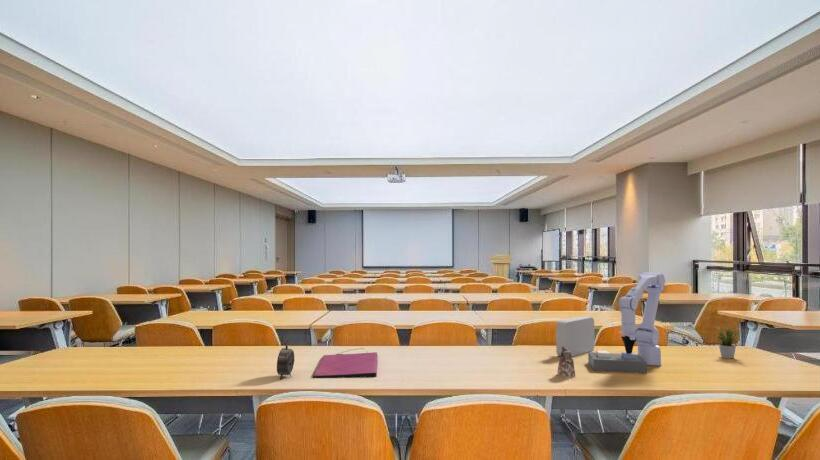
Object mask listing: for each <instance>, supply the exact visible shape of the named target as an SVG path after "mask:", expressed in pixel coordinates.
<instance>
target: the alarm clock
mask: <svg viewBox="0 0 820 460" xmlns="http://www.w3.org/2000/svg"><path fill="white" fill-rule="evenodd" d="M288 344H289V339H288V338H286V339H285V347H282V348H281V349H280V351H279V352H278V356H277V362H276V373H277V375H278V376H280V377H279V380H280V381H281V380H282V377H283V376H290V377H292V375H291V373H292V372H293V369H294V365H295V352H294V350H293V349H292V348H288Z"/></svg>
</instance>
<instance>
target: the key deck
mask: <svg viewBox="0 0 820 460" xmlns="http://www.w3.org/2000/svg"><path fill="white" fill-rule="evenodd" d="M609 353H610V352H609ZM587 354H588V355H587V356H588V357H587V358H588V359H587V360H588V364H589V366H590V367H591V369H592V370H593V371H596V372H612V373H614V372H615V373H630V374H646V375H647V374H648V365H647V362H646V361H645V360H644V359H642V358H641V357H640V356H639V355H638V354H636V359H623V358H622V353H610V358H599V357H597V352H594V351H593V352H592V351H590V352H587Z"/></svg>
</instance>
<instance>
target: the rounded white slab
mask: <svg viewBox="0 0 820 460" xmlns="http://www.w3.org/2000/svg"><path fill="white" fill-rule="evenodd" d="M555 326H556V327H555V337H556V338H555V340H556V341H555V346H556V356H559V357H561V351H562V347H564V348H569V349H570V350H571V355H572V358H573V357H576V356H580V355H584V354H586V353H587V354H588V352H592V351H593V352H594V350H595V346H596V345H595V344H596V343H595V341H596V340H595V339H596V338H595V319H594V317H591V316H577V317H571V318H566V319H561V320H558V321H557V322H556V325H555Z"/></svg>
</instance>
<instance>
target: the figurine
mask: <svg viewBox="0 0 820 460" xmlns="http://www.w3.org/2000/svg"><path fill="white" fill-rule="evenodd" d="M575 371H576V370H575V362H574V359H573V357H572V355H571V350H570V349H569V348H564V347H562V351H561V356H560V358H559V360H558V366H557V376H558V377H560V378H566V379H572V378H574V377H576V372H575Z"/></svg>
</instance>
